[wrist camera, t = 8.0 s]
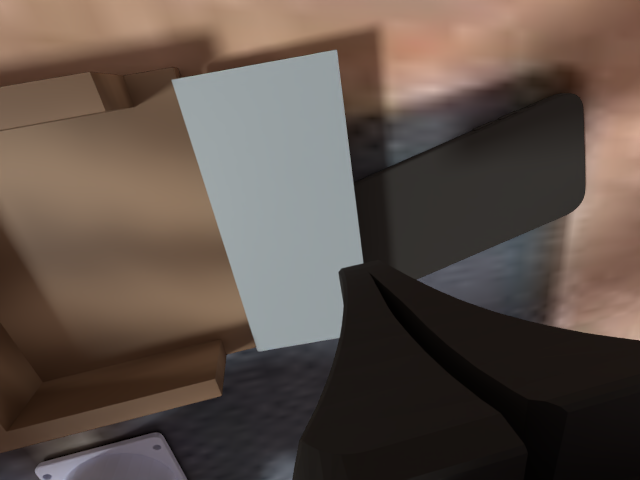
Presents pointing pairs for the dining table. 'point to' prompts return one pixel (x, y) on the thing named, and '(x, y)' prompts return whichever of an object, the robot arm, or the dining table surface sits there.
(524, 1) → the dining table surface
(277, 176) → the cabinet door
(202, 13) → the dining table surface
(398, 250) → the phone
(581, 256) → the dining table surface
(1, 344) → the brown shallow open box
